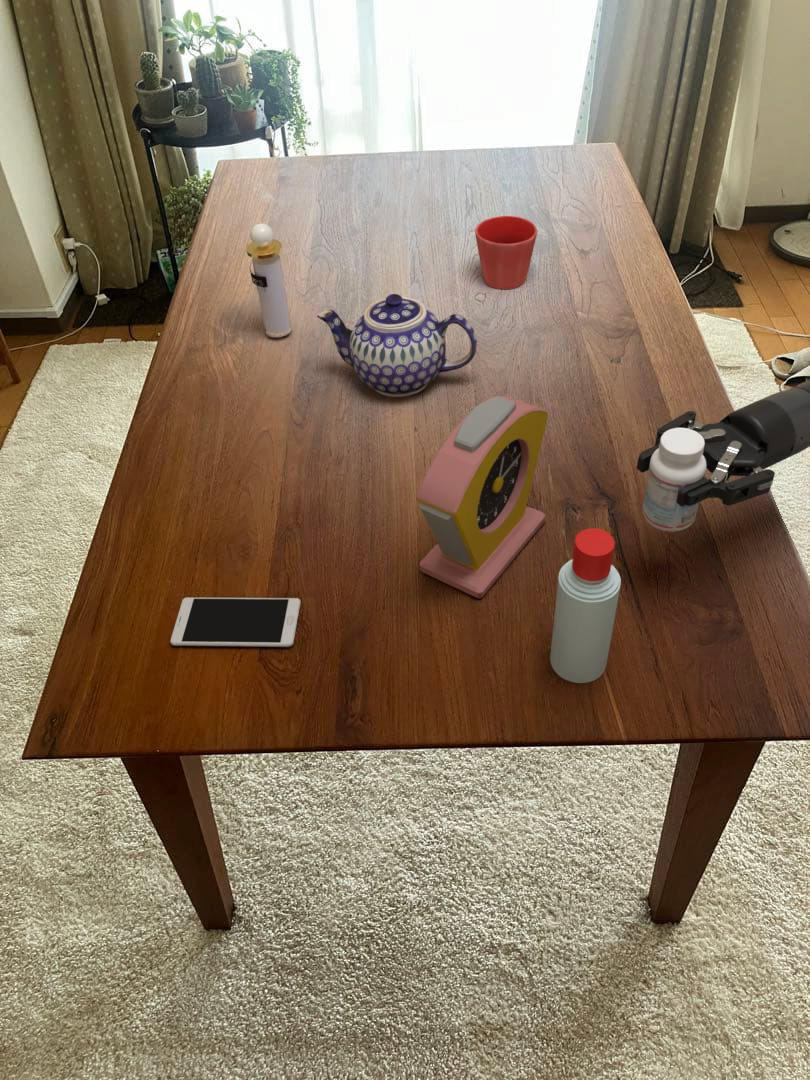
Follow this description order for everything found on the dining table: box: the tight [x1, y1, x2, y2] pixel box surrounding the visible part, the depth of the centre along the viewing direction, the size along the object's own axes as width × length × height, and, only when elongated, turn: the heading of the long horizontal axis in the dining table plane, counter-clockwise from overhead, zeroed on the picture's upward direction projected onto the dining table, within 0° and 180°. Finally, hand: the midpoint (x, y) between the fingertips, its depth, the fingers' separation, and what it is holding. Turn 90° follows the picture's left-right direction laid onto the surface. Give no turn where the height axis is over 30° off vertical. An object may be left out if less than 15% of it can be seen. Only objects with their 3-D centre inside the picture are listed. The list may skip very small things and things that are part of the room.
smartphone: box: [169, 596, 302, 648], centre depth 109 cm, size 8×1×15 cm
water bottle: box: [549, 558, 622, 684], centre depth 96 cm, size 6×6×19 cm
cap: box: [572, 527, 616, 581], centre depth 90 cm, size 4×4×4 cm
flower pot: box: [474, 215, 538, 290], centre depth 161 cm, size 11×11×10 cm
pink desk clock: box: [416, 395, 549, 599], centre depth 109 cm, size 22×9×22 cm, turn 145°
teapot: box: [316, 293, 478, 398], centre depth 139 cm, size 25×15×15 cm, turn 76°
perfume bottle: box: [245, 222, 292, 338], centre depth 148 cm, size 6×6×20 cm
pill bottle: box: [642, 428, 707, 532], centre depth 100 cm, size 6×6×11 cm
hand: (659, 481), depth 99 cm, fingers closed on pill bottle, 6 cm apart
